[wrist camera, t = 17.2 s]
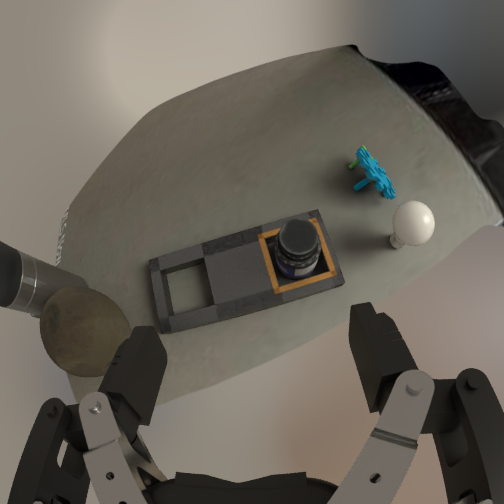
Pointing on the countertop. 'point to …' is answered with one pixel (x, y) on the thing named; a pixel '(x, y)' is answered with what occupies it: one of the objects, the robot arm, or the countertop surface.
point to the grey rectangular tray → (240, 275)
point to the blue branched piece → (372, 173)
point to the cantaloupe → (82, 330)
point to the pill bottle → (297, 248)
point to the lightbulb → (412, 224)
